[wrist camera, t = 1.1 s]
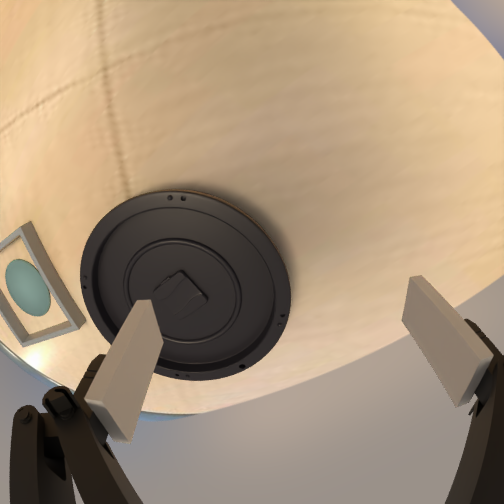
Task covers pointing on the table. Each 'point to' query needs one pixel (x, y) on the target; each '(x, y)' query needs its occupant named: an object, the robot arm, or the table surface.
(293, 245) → the table surface
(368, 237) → the table surface
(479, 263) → the table surface
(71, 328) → the teal-dotted square tray
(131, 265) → the round tray
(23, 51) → the table surface
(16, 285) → the teal round pad
